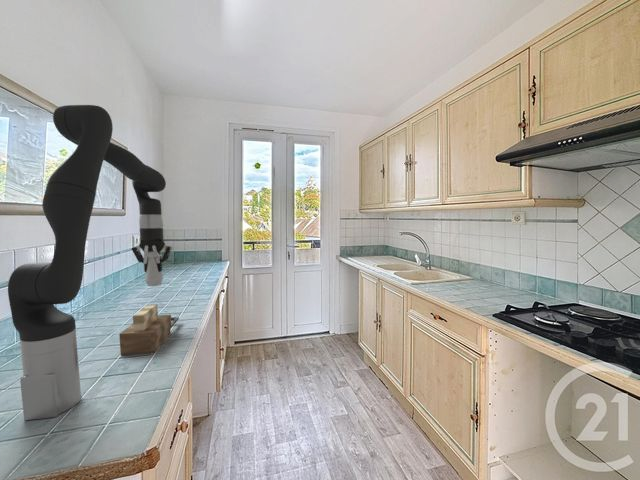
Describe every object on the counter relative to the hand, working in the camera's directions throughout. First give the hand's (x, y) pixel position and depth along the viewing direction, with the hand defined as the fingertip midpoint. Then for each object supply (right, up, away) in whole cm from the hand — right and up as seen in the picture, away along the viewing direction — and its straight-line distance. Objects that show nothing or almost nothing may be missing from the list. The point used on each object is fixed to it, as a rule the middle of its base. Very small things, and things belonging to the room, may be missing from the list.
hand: (153, 273), depth 109 cm
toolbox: (+3, -23, -9) cm, 25 cm away
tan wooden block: (+2, -21, -4) cm, 22 cm away
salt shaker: (0, -5, 0) cm, 5 cm away
